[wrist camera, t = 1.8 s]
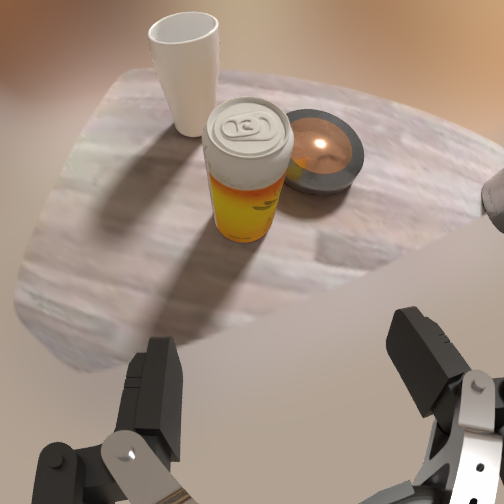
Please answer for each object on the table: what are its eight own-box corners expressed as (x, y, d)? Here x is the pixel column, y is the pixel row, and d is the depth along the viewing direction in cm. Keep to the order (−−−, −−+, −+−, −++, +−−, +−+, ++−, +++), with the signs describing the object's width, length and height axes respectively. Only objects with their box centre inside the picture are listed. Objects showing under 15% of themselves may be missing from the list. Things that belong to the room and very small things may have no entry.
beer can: (277, 240, 32) (308, 157, 18) (219, 249, 31) (205, 170, 17) (265, 188, 34) (283, 89, 19) (211, 197, 33) (196, 98, 19)
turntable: (345, 120, 36) (350, 110, 34) (368, 194, 33) (375, 185, 31) (262, 119, 35) (263, 108, 33) (274, 197, 32) (276, 188, 30)
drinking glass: (228, 108, 37) (227, 12, 23) (215, 147, 35) (207, 45, 21) (179, 103, 37) (162, 11, 23) (162, 141, 35) (134, 45, 21)
